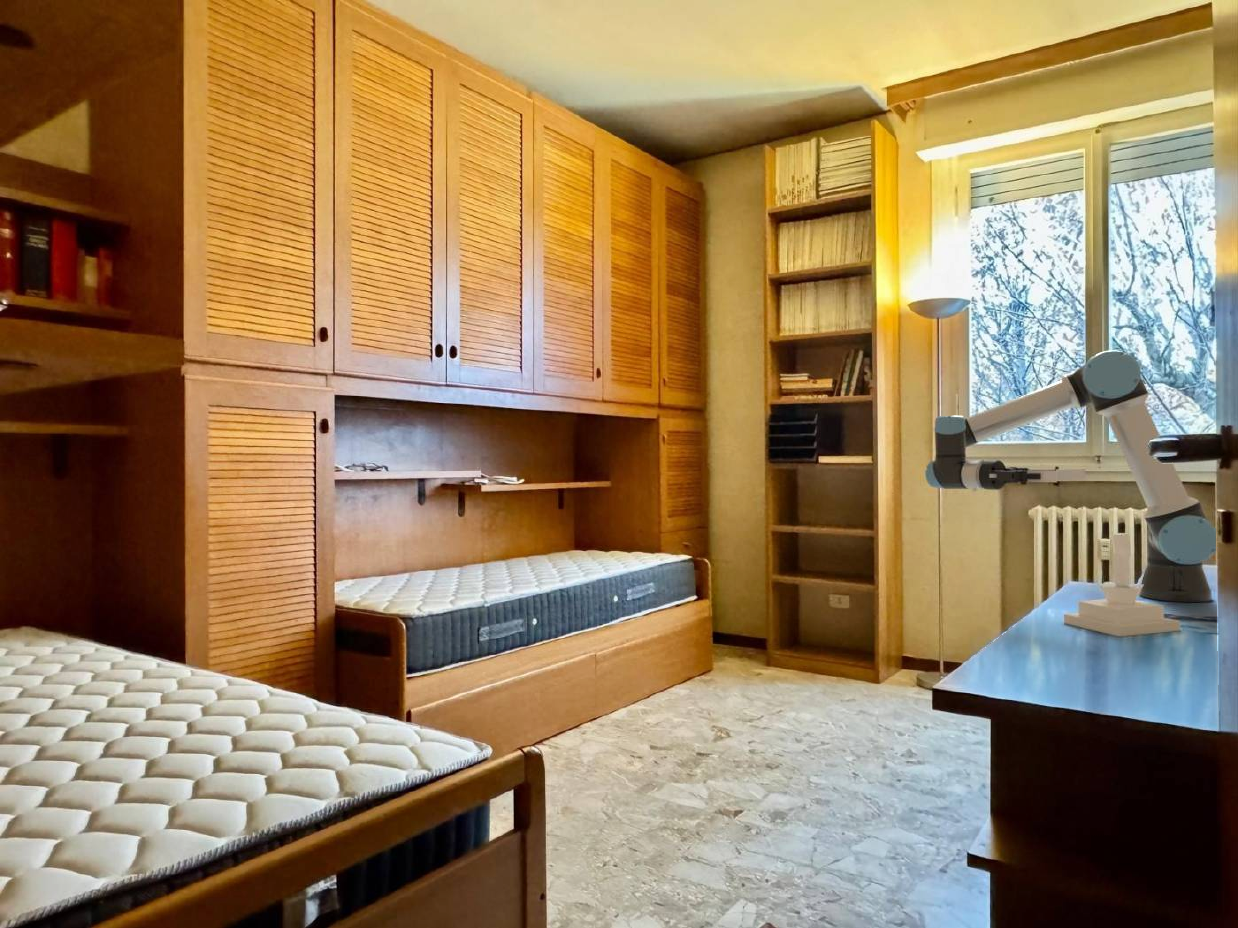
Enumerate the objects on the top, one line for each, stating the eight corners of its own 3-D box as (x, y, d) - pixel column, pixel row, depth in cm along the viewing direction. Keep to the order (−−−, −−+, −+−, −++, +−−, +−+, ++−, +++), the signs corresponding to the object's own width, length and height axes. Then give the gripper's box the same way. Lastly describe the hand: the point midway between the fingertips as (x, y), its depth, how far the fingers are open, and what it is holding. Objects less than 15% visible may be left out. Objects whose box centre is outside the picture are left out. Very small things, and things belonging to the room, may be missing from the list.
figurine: (1099, 603, 172) (1098, 534, 172) (1106, 597, 179) (1105, 530, 179) (1139, 607, 167) (1138, 535, 167) (1144, 600, 175) (1143, 531, 174)
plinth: (1122, 617, 181) (1121, 595, 181) (1180, 630, 168) (1180, 606, 167) (1064, 622, 177) (1063, 600, 177) (1119, 636, 163) (1118, 611, 163)
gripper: (1011, 487, 214) (1095, 489, 197) (957, 491, 199) (1043, 493, 182) (1010, 459, 214) (1095, 458, 196) (957, 461, 199) (1043, 460, 182)
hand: (1070, 475), depth 189 cm, fingers open, 13 cm apart
